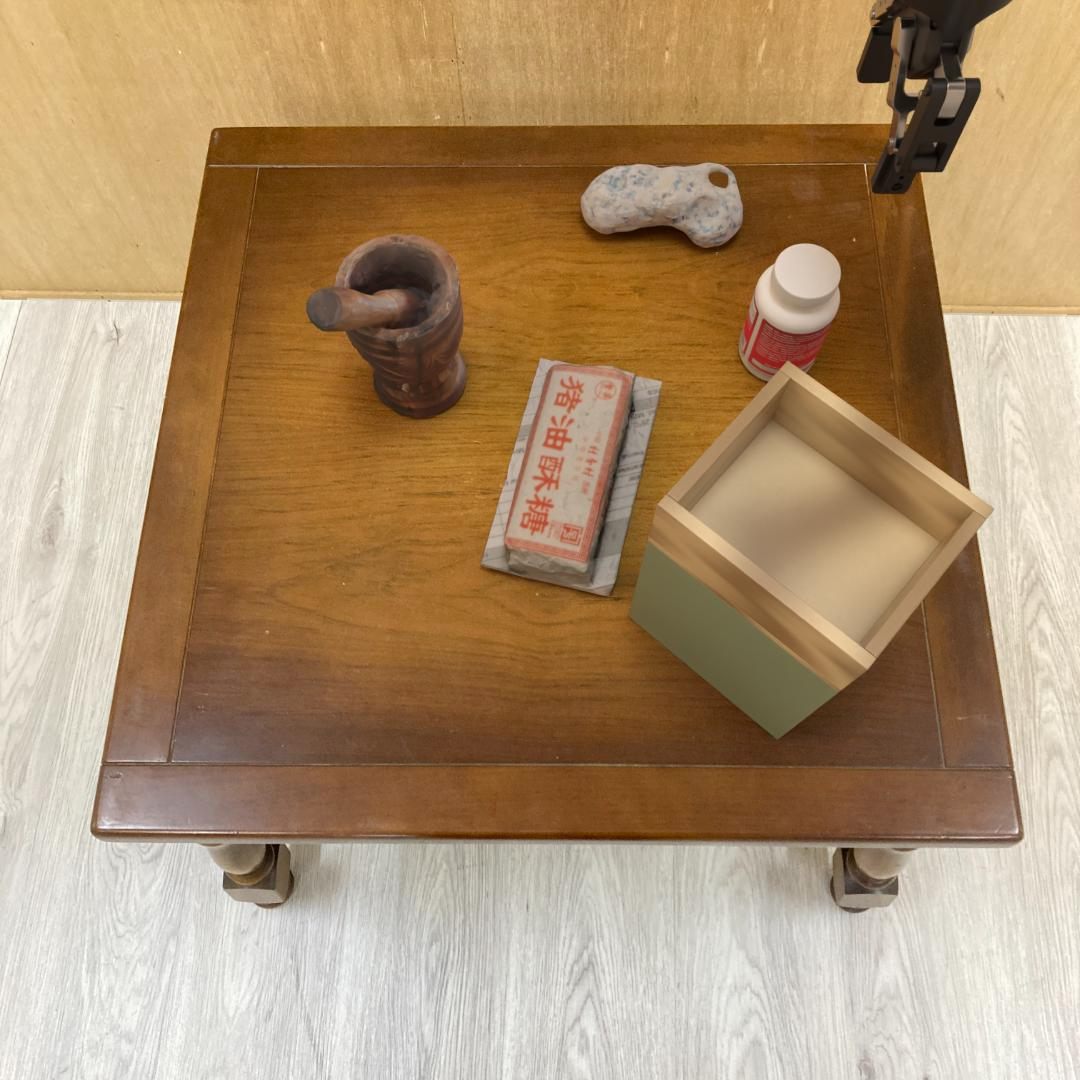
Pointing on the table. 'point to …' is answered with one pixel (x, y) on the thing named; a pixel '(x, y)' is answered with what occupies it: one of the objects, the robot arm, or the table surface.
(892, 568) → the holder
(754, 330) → the pill bottle
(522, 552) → the packaged product
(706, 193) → the decorative stone
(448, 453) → the table surface
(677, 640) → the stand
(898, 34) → the robot arm
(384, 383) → the mortar and pestle
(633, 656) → the table surface
